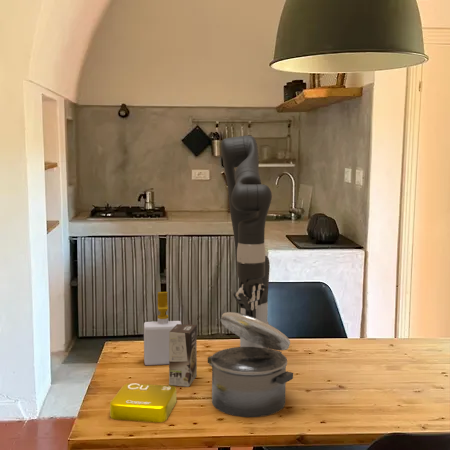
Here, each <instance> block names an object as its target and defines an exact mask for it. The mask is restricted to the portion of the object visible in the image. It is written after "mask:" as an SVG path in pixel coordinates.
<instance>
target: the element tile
mask: <svg viewBox="0 0 450 450" xmlns="http://www.w3.org/2000/svg"><path fill="white" fill-rule="evenodd" d="M176 404H177V388H176V385H169V384H168V385H163V384H150V383H148V384H147V383H135V382H134V383H133V382H132V383H130V382H127V383H125V384H123V385H122V386H121V388H120V389H119V390H118V392H117V393H116V394H115V395H114V397H113V398H112V399H111V400H110V401H109V417H110V419H112V420H116V421H130V422H131V421H133V422H144V423H145V422H146V423H163V422H166V421H167V420H168V418H169V417H170V415H171V413H172V411H173V409H174V407H175V405H176Z"/></svg>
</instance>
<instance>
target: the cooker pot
mask: <svg viewBox="0 0 450 450" xmlns="http://www.w3.org/2000/svg"><path fill="white" fill-rule="evenodd" d="M207 364H208V365H210V364H212V366H211V404H212V406H213V407H214V408H215V409H217V410H218V411H219V412H222V413H224V414H227V415H230V416H234V417H241V418H258V417H259V418H260V417H267V416H271V415H274V414H276V413H279V412H280V411H282V410H283V409H284V407H285V406H286V387H287V386H286V384H287V383H288V382H290V381H292V380H293V379H294V372H291V371H287V365H288V359H287V357H286V355H284V354H283V353H282V351H281V350H274V349H269V348H259V347H240V346H236V347H230V348H225V349H221V350H218V351H216V352H215V353H213V354H212V355H210V356H208V357H207Z"/></svg>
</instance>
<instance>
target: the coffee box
mask: <svg viewBox="0 0 450 450" xmlns="http://www.w3.org/2000/svg"><path fill="white" fill-rule="evenodd" d="M197 326H198V325H197V324H188V323H187V324H182V323H181V324H177V325H176V326H175V327H174V328H173V329H172V330H171V331H170V332H169V364H168V386H175V387H176V386H179V387H186V388H188V387H190V386H191V385H192V383H193V381H194V380H195V379H196V377H197V372H198V371H197V366H198V365H197V364H198V363H197V361H198V359H197V357H198V356H197V355H198V352H197V348H198V347H197V346H198V344H197V343H198V342H197V341H198V339H197V337H198V336H197V334H198V333H197V328H198V327H197Z"/></svg>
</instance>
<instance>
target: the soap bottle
mask: <svg viewBox="0 0 450 450" xmlns="http://www.w3.org/2000/svg"><path fill="white" fill-rule="evenodd" d="M168 293H169V292H168V291H157V310H158V312H159V313H160V314H158V315H157V321H145V322H144V323H143V358H144V360H143V361H144V365H145V366H156V365H157V366H158V365H159V366H161V365H169V332H170V331H171V330H172V329H173V328H174V327H175V326H176V325H177V324H182V321H181V320H169V315H168V314H166V313H167V312H168V310H169V306H168V304H169V303H168Z"/></svg>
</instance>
